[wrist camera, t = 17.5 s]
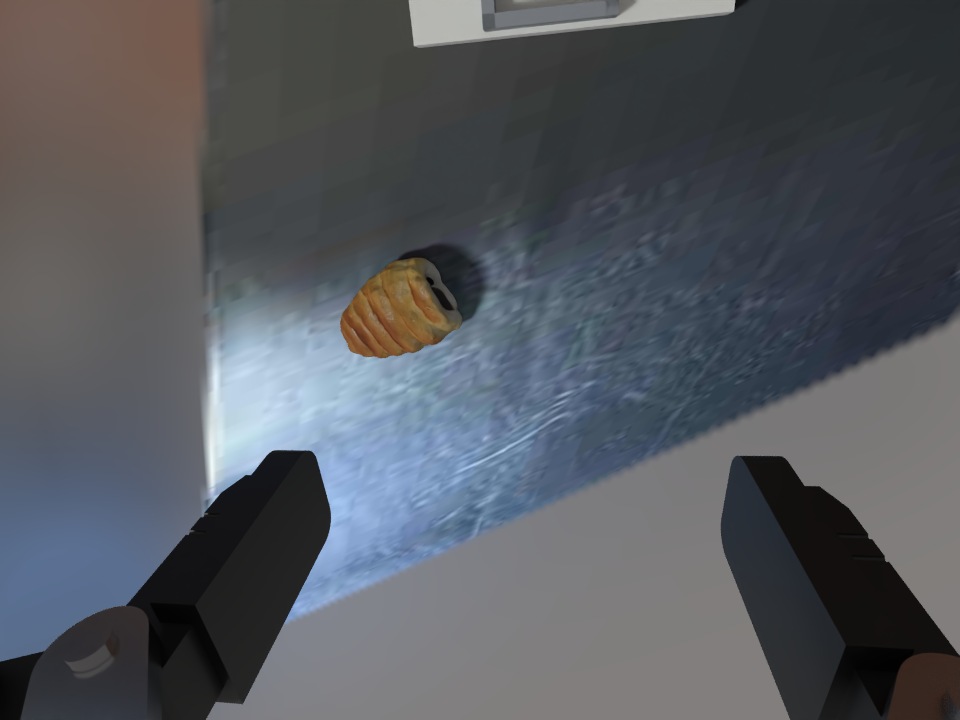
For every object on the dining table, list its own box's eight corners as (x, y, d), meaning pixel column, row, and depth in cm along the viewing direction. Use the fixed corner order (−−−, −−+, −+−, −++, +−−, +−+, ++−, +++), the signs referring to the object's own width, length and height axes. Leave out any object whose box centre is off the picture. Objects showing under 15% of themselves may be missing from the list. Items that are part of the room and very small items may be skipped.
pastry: (377, 367, 42) (362, 389, 39) (327, 300, 40) (307, 317, 37) (471, 317, 39) (464, 336, 36) (423, 241, 37) (410, 254, 34)
